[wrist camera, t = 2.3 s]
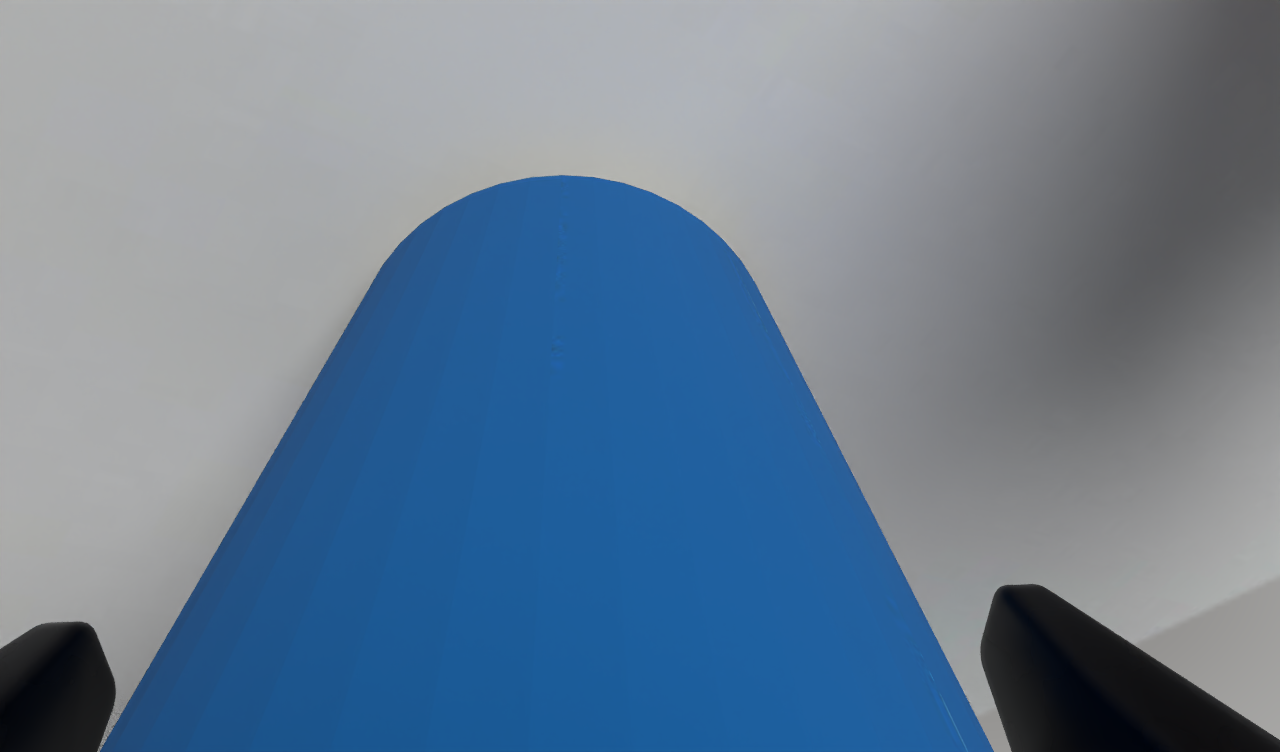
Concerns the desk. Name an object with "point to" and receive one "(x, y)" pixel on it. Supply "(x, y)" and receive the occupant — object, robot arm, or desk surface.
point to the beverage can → (554, 521)
